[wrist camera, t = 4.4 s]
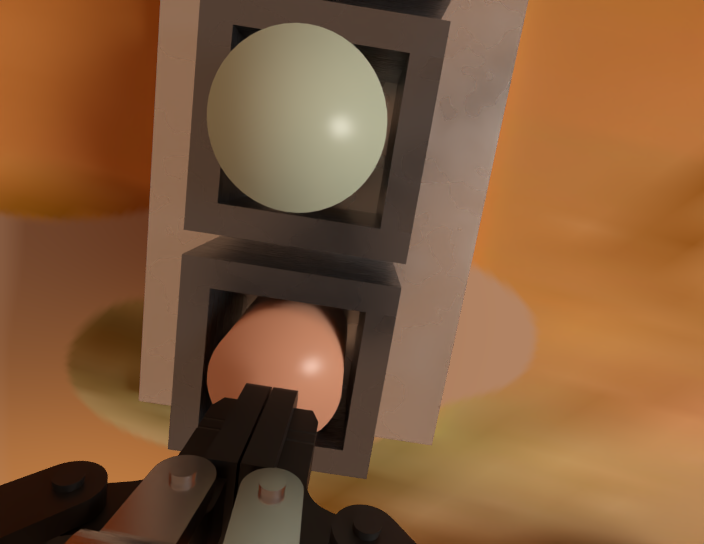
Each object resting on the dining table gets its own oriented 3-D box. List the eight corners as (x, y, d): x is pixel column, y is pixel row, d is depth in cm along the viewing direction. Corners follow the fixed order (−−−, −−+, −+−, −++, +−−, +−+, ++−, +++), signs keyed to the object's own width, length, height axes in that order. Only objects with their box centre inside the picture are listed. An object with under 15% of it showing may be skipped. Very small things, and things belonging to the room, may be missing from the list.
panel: (562, -190, 17) (667, -380, 11) (428, 433, 23) (451, 525, 17) (186, -253, 17) (90, -479, 11) (148, 390, 22) (72, 468, 17)
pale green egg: (389, 79, 16) (401, 39, 11) (368, 208, 16) (371, 225, 12) (261, 59, 15) (214, 8, 11) (248, 189, 16) (200, 198, 12)
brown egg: (354, 289, 19) (352, 330, 14) (339, 384, 20) (332, 453, 15) (251, 273, 19) (212, 309, 14) (240, 369, 20) (201, 433, 15)
